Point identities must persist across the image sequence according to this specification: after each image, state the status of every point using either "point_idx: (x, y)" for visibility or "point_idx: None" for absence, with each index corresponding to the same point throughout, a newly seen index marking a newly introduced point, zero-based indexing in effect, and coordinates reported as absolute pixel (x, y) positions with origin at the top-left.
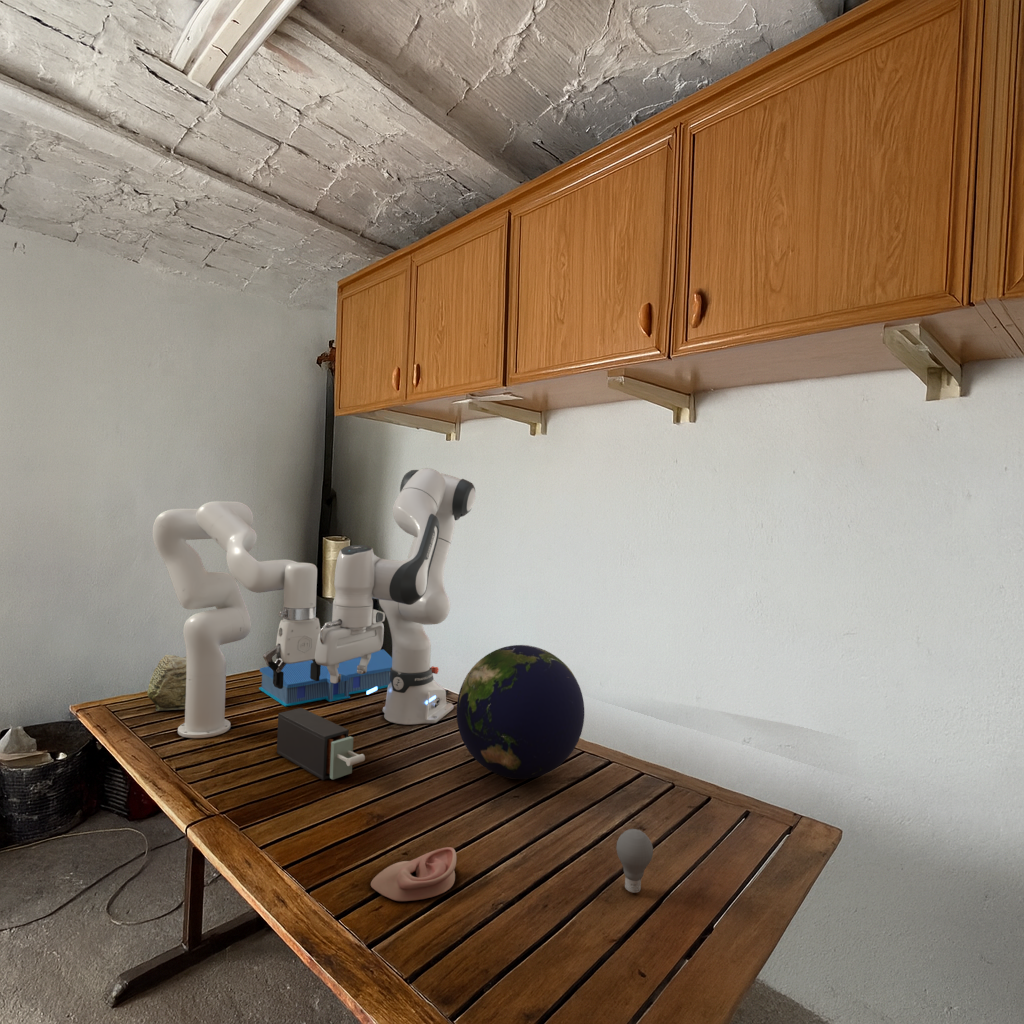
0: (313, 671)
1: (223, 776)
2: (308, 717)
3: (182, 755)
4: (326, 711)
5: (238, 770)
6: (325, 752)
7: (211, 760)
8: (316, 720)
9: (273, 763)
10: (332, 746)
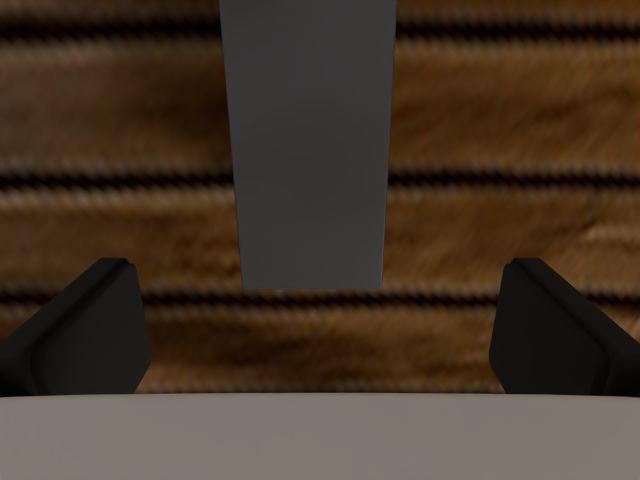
0: (106, 368)
1: (598, 158)
2: (292, 116)
3: None
4: None
5: (536, 170)
6: None
7: None
8: (281, 31)
9: (419, 143)
10: None
